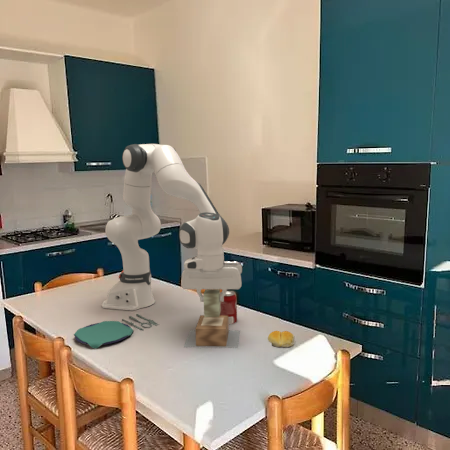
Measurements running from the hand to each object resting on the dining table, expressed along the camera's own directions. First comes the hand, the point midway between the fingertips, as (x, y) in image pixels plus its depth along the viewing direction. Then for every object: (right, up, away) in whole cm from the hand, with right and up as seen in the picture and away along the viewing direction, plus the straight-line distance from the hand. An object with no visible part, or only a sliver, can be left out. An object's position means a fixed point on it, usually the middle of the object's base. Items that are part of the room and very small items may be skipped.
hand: (212, 301), depth 147 cm
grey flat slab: (0, -14, +2) cm, 14 cm away
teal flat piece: (-36, -14, +13) cm, 40 cm away
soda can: (+6, -12, +18) cm, 22 cm away
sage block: (0, -5, +1) cm, 5 cm away
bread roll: (+24, -14, 0) cm, 28 cm away
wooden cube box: (0, -13, +2) cm, 13 cm away
